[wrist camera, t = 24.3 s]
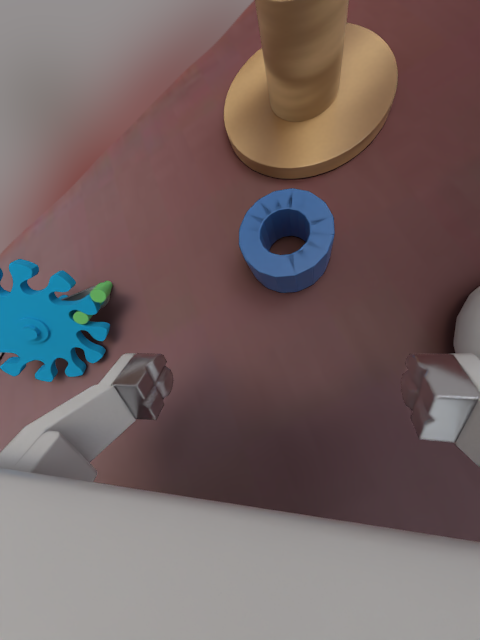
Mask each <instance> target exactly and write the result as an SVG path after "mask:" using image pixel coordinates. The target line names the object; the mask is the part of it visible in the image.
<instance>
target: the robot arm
mask: <svg viewBox="0 0 480 640" xmlns="http://www.w3.org/2000/svg"><path fill="white" fill-rule="evenodd" d="M166 362H167V361H166V359H165V357H164V355H162V354H145V353H137V354H134V353H126V354H124V355H122V356H121V357H120V358H119V360H118V361H117V362H116V363H115V365H114V366H113V367H112V368H111V369H110V371H109V372H108V373H107V374H106V375H105V377H104V378H103V379H102V380H101V381H100V383H99V384H98V385H93V386H92V387H90V388H88V389H87V390H85V391H83V392H82V393H80V394H78V395H77V396H75V397H73V398H72V399H70V400H68V401H67V402H65V403H63V404H62V405H60V406H58V407H57V408H55V409H53V410H52V411H50V412H48V413H47V414H45V415H43V416H42V417H40V418H38V419H37V420H35V421H33V422H32V423H30V424H29V425H27V426H25V427H24V428H23V429H22V430H21V431H20V432H19V433H18V434H17V435H16V436H15V438H14V439H13V440H12V441H11V442H10V443H9V444H8V445H7V446H6V447H5V448H4V449H3V450H2V451H1V452H0V640H480V542H477V541H471V540H464V539H458V538H451V537H445V536H438V535H432V534H425V533H419V532H412V531H406V530H400V529H393V528H387V527H380V526H374V525H367V524H361V523H354V522H348V521H341V520H335V519H329V518H322V517H316V516H309V515H303V514H296V513H290V512H283V511H277V510H270V509H264V508H258V507H251V506H245V505H238V504H232V503H225V502H219V501H212V500H206V499H199V498H193V497H187V496H180V495H174V494H167V493H161V492H154V491H148V490H141V489H135V488H128V487H122V486H115V485H109V484H102V483H96V482H93V481H94V479H95V478H96V476H97V470H96V469H95V468H94V467H93V466H92V465H91V464H90V462H91V461H92V460H93V459H94V458H95V457H96V456H97V455H98V454H99V453H101V452H102V451H103V450H104V449H105V448H106V447H107V446H108V445H109V444H110V443H112V442H113V441H114V440H115V439H116V438H117V437H118V436H119V435H120V434H121V433H122V432H124V431H125V430H126V429H127V428H128V427H129V426H130V425H131V424H132V423H133V422H135V421H136V419H147V420H156V419H157V418H158V416H159V414H160V412H161V410H162V408H163V406H164V401H163V399H164V398H165V397H167V396H168V395H169V394H170V392H171V390H172V387H173V381H174V380H173V374H172V372H171V370H170V369H169V368H168V367H166V366H165V365H166ZM405 365H406V367H407V369H408V370H407V371H406V372H405V373H403V374H402V378H401V393H402V397H403V400H404V403H405V405H406V406H407V407H409V408H410V409H411V410H412V411H413V412H412V415H411V421H412V423H413V426H414V428H415V430H416V433H417V435H418V438H419V439H421V440H431V441H441V442H451V443H455V445H456V446H457V447H458V448H459V449H460V450H461V451H462V452H464V453H465V454H466V455H467V456H468V457H469V458H470V459H471V460H472V461H473V462H474V463H475V464H476V465H478V466H479V467H480V360H479V359H478V357H477V356H476V355H474V354H472V353H450V354H409V355H408V356H407V358H406V362H405Z"/></svg>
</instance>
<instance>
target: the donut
mask: <svg viewBox="0 0 480 640" xmlns="http://www.w3.org/2000/svg"><path fill="white" fill-rule="evenodd" d="M453 345H454V349H455V353H472V354H474V355H476V356H477V357H478V359H479V360H480V286H479V287H478V288H476V289H475V290H474V291H473V292H472V293H471V294H470V295H469V296H468V298H467V300H466V302H465V304H464V305H463V307H462V309H461V311H460V313H459V314H458V316H457V319H456V327H455V335H454V343H453Z"/></svg>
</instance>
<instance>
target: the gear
mask: <svg viewBox="0 0 480 640" xmlns="http://www.w3.org/2000/svg"><path fill="white" fill-rule="evenodd" d="M9 271H10V273H11V275H12V278H13V287H12V290H11V292H8V291H6V290H4V289H3V288H2V287H1V285H0V352H7V353H15V354H17V355H18V356H19V357H11V358H9V359H8V360H7V361H5V362H4V363H3V364H2V365H1V367H0V368H1V369H2V370H3V371H4V372H6V373H8V374H10V375H12V376H17V375H18V374H20V372H21V371H22V370H23V369H24V368H25V367H26V363H28V362H30V361H33V360H40V361H42V362H43V363H44V364H45V365H42V366H41V367H40V368H39V370H38V371H37V372H36V373H35V378H36V379H38V380H42V381H47V382H51V381H52V380H53V379H54V377H55V376H56V375H57V373H58V370H57V368H56V364H55V362H56V358H63V359H65V360H67V362H68V366H67V368H66V369H65V373H66V375H67V376H68V377H75V376H80V375H83V373H84V371H85V369H86V364H85V363H84V362H83V361H81V360H80V359H79V357H78V356H77V354H76V351H75V347H78V348H81V349H83V350H84V352H85V358H86V360H87V361H88V362H90V363H95V362H97V361H98V360H100V359H101V358H102V357H103V355H104V353H105V352H106V350H105V348H104V347H102V346H100V345H97V344H94V343H92V342H91V341H89V340H88V339H87V338H86V337H85V336H84V335H83V334H82V332H81V330H85V331H87V332H89V333H90V334H91V336H92V337H93V338H94V339H96V340H98V341H104V340H105V338H106V336H107V335H108V333H109V330H110V324H109V323H107V322H92V321H89V319H90V318H91V317H92V316H93V315H94V314H96V313H97V312H98V311H99V309H100V308H103V307H104V306H106V304H107V303H108V302H109V300H110V292H111V288H112V286H113V285H112V283H111V282H110V281H105V282H104V283H99V284H98V285H97V286H93V287H91V288H88V289H86V290H83V291H81V292H78V293H76V294H73V295H71V296H67V295H62V296H60V297H59V298H57V297H56V296H55V294H54V292H67V291H69V290H70V289H71V288H72V287H73V286H74V285H75V284H76V282H75V280H74V279H73V278H72V277H71V276H70V275H69V274H67V273H66V272H65V271H63V270H62V271H59V272H57V273H56V274H54V275H53V276H51V278H50V281H49V284H48V286H47V287H46V288H45V289H42V290H39V291H36V290H33V289H31V288H30V287H29V286H28V284H27V280H28V279H30V278H32V277H33V276H35V275H37V274H38V272H39V267H38V265H36V264H34V263H32V262H29V261H26V260H22V259H18V260H16V261H13V262H11V263H10V265H9ZM2 276H3V272H2V270H1V268H0V281H1V279H2Z"/></svg>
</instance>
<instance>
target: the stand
mask: <svg viewBox="0 0 480 640" xmlns="http://www.w3.org/2000/svg"><path fill="white" fill-rule="evenodd" d="M255 3H256V10H257V17H258V24H259V31H260V38H261V44H262V48H261V49H260V50H259V51H257V52H256V53H255V54H254V55H253V56H252V57H251V58H250V59H249V60H248V61H247V62H246V63H245V64H244V66H243V67H242V68H241V69H240V71H239V72H238V74H237V75H236V77H235V79H234V80H233V82H232V84H231V86H230V89H229V91H228V94H227V97H226V101H225V107H224V123H225V128H226V131H227V134H228V137H229V140H230V143H231V146H232V148H233V150H234V152H235V153H236V155H237V156H238V157H239V159H240V160H241V161H242V162H244V163H245V164H246V165H247V166H248V167H250V168H251V169H253V170H255V171H257V172H259V173H261V174H264V175H267V176H270V177H275V178H283V179H297V178H306V177H311V176H315V175H319V174H322V173H325V172H328V171H330V170H332V169H335V168H337V167H339V166H341V165H343V164H344V163H346V162H348V161H349V160H351V159H352V158H354V157H355V156H356V155H358V154H359V153H360V152H361V151H362V150H364V149H365V148H366V147H367V146H368V145H369V144H370V143H371V141H372V140H373V139H374V138H375V137H376V136H377V134H378V133H379V131H380V130H381V129H382V127H383V125H384V123H385V121H386V119H387V117H388V114H389V112H390V109H391V106H392V103H393V100H394V97H395V93H396V88H397V84H398V71H397V64H396V60H395V57H394V55H393V53H392V51H391V49H390V47H389V46H388V45H387V44H386V42H385V41H384V40H383V39H382V38H381V37H379V36H378V35H377V34H376V33H374V32H372V31H370V30H369V29H367V28H364V27H361V26H359V25H355V24H350V23H346V21H347V12H348V3H349V0H255Z"/></svg>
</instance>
